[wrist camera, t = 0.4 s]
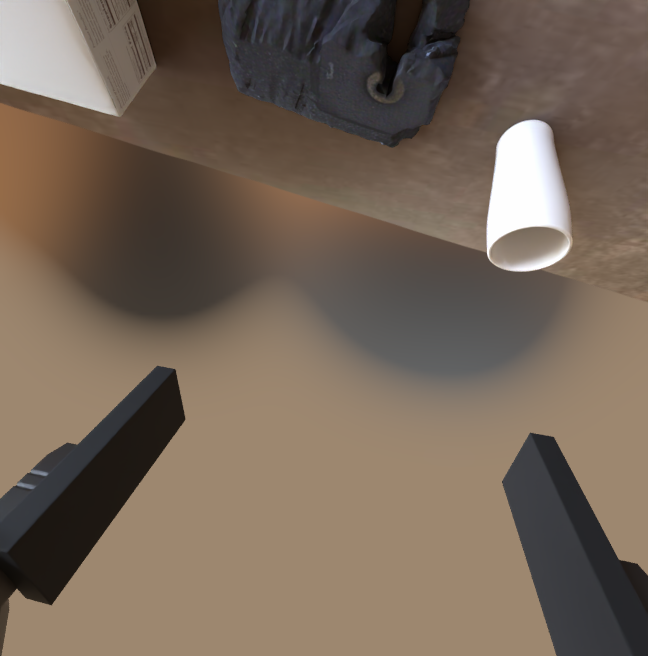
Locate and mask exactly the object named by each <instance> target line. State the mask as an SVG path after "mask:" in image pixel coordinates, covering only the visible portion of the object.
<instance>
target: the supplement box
mask: <svg viewBox="0 0 648 656" xmlns="http://www.w3.org/2000/svg"><path fill="white" fill-rule="evenodd" d="M155 69H156V63H155V60H154V56H153V53H152V50H151V46H150V43H149V40H148V36H147V33H146V30H145V26H144V23H143V20H142V17H141V13H140V10H139V7H138V3H137V0H0V84H3V85H7V86H10V87H14V88H17V89H21V90H24V91H28V92H32V93H35V94H39V95H43V96H46V97H50V98H53V99H57V100H61V101H64V102H68V103H71V104H75V105H78V106H82V107H85V108H89V109H93V110H96V111H100V112H103V113H107V114H111V115H115V116H118V117H121V116H122V114H123V113H124V112H125V110H126V109H127V107H128V106H129V104H130V103H131V102H132V100H133V99H134V97H135V96H136V95H137V93H138V92H139V90H140V89H141V88H142V86H143V85H144V83H145V82H146V81H147V79H148V78H149V77H150V75H151V74H152V73H153V71H154V70H155Z"/></svg>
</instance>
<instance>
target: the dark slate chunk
mask: <svg viewBox="0 0 648 656" xmlns="http://www.w3.org/2000/svg"><path fill="white" fill-rule="evenodd" d="M396 1H397V0H219V2H218V7H219V14H220V18H221V25H222V30H223V31H222V36H223V42H224V45H225V48H226V53H227V56H228V59H229V61H230V63H229V66H230V71H231V75H232V77H233V79H234V81H235V83H236V86H237V89H238V91H239V92H241V93H243V94H245V95H248V96H251V97H254V98H256V99H258V100H261V101H266V102H271V103H274V104H276V105H277V106H279V107H283V108H284V109H286V110H289V111H294V112H296V113H298V114H300V115H303V116H305V117H307V118H309V119H312V120H315V121H317V122H321V123H325V124H327V125H329V126H330V127H331V128H333V127H335V128H337V129H340V130H343V131H345V132H347V133H350V134H355V135H358V136H360V137H363V138H365V139H368V140H372V141H377V142H380V143H381V144H383V145H387V146H389V147H395V146H397V145H398V144H399V142H400V141H401V140H402V139H404V138H411V139H412V138H413V137H414V136H415V135H416V134H417V132H418V131H419V127H420V126H421V125H429V124H430V122H431V121H432V118H433V115H434V113H435V109H436V106H437V104H438V102H439V100H440V96H441V94H442V92H443V90H444V89H445V88H446V87H447V86H448V82H449V80H450V78H451V75H452V71H453V65H454V62H455V59H456V57H457V54H458V52H457V47H458V44H459V42H460V37H459V36H456V35H455V33H456V32H457V31H458V30H459V29H460V28H461V27H462V26H463V24H464V20H465V19H464V15H465V13H466V12H467V10H468V8H469V1H470V0H423V7H422V11H421V13H420V15H419V21H418V24H417V26H416V28H415V30H414V31H413V32H412V34H411V36H410V41H409V43H408V49H407V51H406V53H405V54H404V55H403V56H402V57H401V59H400V62H399V63H398V64H396V62H393V61H392V60H391V58H390V57H389V56H388V55H387V44H388V43H389V42H390V41H391V38H392V33H393V27H394V17H395V5H396ZM452 32H453V33H452Z"/></svg>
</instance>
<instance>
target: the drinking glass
mask: <svg viewBox="0 0 648 656" xmlns="http://www.w3.org/2000/svg"><path fill="white" fill-rule="evenodd" d="M572 244H573V234H572V218H571V209H570V204H569V199H568V195H567V191H566V187H565V184H564V180H563V176H562V172H561V168H560V164H559V160H558V156H557V152H556V148H555V143H554V134H553V131H552V129H551V127H550V126H549V125H548V124H547V123H545V122H543V121H540V120H527V121H523V122H520V123H518V124H516V125H514V126H512V127H511V128H509V129H508V130H507V131H506V132H505V133H504V134H503V135H502V136H501V138H500V140H499V141H498V144H497V147H496V162H495V169H494V177H493V183H492V190H491V197H490V203H489V210H488V218H487V255H488V258H489V260H490V261H491V262H492V263H493V264H494V265H495V266H497V267H499V268H502V269H505V270H509V271H517V272H519V271H522V272H524V271H532V270H538V269H542V268H545V267H548V266H551V265H553V264H555V263H557V262H558V261H560V260H561V259H563V258H564V257H565V256H566V255H567V254H568V253H569V251H570V250H571V248H572Z"/></svg>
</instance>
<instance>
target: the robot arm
mask: <svg viewBox="0 0 648 656" xmlns="http://www.w3.org/2000/svg"><path fill="white" fill-rule="evenodd" d="M184 421H185V415H184V410H183V405H182V400H181V395H180V390H179V385H178V380H177V375H176V370H175V369H171V368H166V367H160V366H157V367H156V368H155V369H154V370H153V371H152V372H151V373H150V374H149V375H148V376H147V377H146V378H145V379H143V380H142V381H141V382H140V383H139V385H137V387H135V388H134V389H133V390H132V391H131V392H130V393H129V394H128V395H127V396H126V397H125V398H124V399H123V400H122V401H121V402H120V403H119V404H118V405H117V406H116V407H115V408H114V409H113V410H112V411H111V412H110V413H109V414H108V415H107V416H106V417H105V418H104V419H103V420H102V421H101V422H100V423H99V424H98V425H97V426H96V427H95V428H94V429H93V430H92V431H91V432H90V433H89V434H88V435H87V436H86V437H85V438H84V439H83V440H82V441H81V442H80V443H79V444H78V445H76V444H71V443H66V444H64V445H63V446H61V447H59V448H58V449H56V450H54V451H53V452H51V453H49V454H48V455H47V456H46V457H45V458H44V459H42V460H41V461H40V462H39V463H38V464H37V465H36V466H35V467H34V468H33V469H32V470H31V472H30V473H27V474H26V475H25V476H24V477H23V478H22V479H21V480H20V481H19V482H18V483H17V485H16V486H13V488H11V489H10V490H9V491H8V492H7V493H6V494H5V495H4V496H3V497H2V498H1V499H0V656H1V655H2V649H3V643H4V637H5V631H6V625H7V619H8V613H9V600H8V598H9V597H10V596H11V595H12V594H13V592H14V591H15V590H16V589H18V590H19V591H20V592H21V593H22V595H24V597H25V598H27V599H31V600H34V601H38V602H42V603H45V604H49V605H52V604H53V602H54V601H55V600H56V598H57V597H58V595H59V594H60V593H61V591H62V590H63V589H64V587H65V586H66V584H67V583H68V582H69V580H70V579H71V578H72V576H73V575H74V573H75V572H76V571H77V569H78V568H79V566H80V565H81V564H82V562H83V561H84V559H85V558H86V557H87V555H88V554H89V553H90V551H91V550H92V548H93V547H94V545H95V544H96V543H97V541H98V540H99V539H100V537H101V536H102V535H103V533H104V532H105V530H106V529H107V527H108V526H109V525H110V523H111V522H112V521H113V519H114V518H115V516H116V515H117V514H118V512H119V511H120V510H121V508H122V507H123V505H124V504H125V503H126V501H127V500H128V498H129V497H130V496H131V494H132V493H133V492H134V490H135V489H136V487H137V486H138V485H139V483H140V482H141V480H142V479H143V478H144V476H145V475H146V474H147V472H148V471H149V469H150V468H151V466H152V465H153V464H154V462H155V461H156V460H157V458H158V457H159V455H160V454H161V453H162V451H163V450H164V449H165V447H166V446H167V444H168V443H169V442H170V440H171V439H172V437H173V436H174V435H175V433H176V432H177V430H178V429H179V428H180V426H181V425H182V424H183V422H184ZM502 483H503V486H504V490H505V493H506V496H507V499H508V502H509V506H510V509H511V512H512V515H513V518H514V521H515V525H516V528H517V531H518V534H519V537H520V541H521V544H522V547H523V550H524V553H525V556H526V559H527V563H528V566H529V569H530V572H531V575H532V579H533V582H534V585H535V588H536V592H537V595H538V598H539V601H540V604H541V607H542V611H543V614H544V617H545V620H546V623H547V626H548V629H549V633H550V636H551V639H552V642H553V646H554V649H555V652H556V655H557V656H648V575H647V574H646V573H645V572H644V571H643V570H642V569H641V568H640V567H639V565H638V564H635V563H631V562H626V561H621V560H619V559H618V558H617V556H616V554H615V552H614V550H613V548H612V546H611V544H610V542H609V540H608V539H607V537H606V535H605V533H604V531H603V529H602V527H601V525H600V523H599V522H598V520H597V518H596V516H595V514H594V512H593V510H592V508H591V506H590V505H589V503H588V501H587V499H586V497H585V495H584V493H583V491H582V490H581V488H580V486H579V484H578V482H577V480H576V478H575V476H574V474H573V472H572V471H571V469H570V467H569V465H568V463H567V461H566V459H565V457H564V456H563V454H562V452H561V450H560V448H559V446H558V444H557V442H556V440H555V439H554V437H551V436H545V435H539V434H534V433H530V434H529V436H528V438H527V439H526V441H525V443H524V444H523V446H522V448H521V450H520V451H519V453H518V455H517V456H516V458H515V460H514V462H513V463H512V465H511V467H510V469H509V470H508V472H507V474H506V476H505V477H504V479H503V481H502Z"/></svg>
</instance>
